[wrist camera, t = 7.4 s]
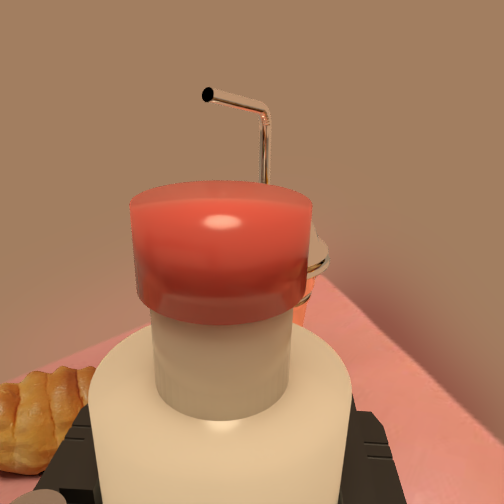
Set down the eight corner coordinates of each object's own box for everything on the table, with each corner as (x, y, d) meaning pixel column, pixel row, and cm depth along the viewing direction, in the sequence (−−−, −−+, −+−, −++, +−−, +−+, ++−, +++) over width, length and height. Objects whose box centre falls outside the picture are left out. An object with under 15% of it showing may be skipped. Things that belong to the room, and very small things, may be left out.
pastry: (144, 378, 32) (140, 334, 31) (167, 444, 27) (163, 393, 25) (0, 414, 29) (-12, 365, 27) (-10, 499, 23) (-25, 443, 22)
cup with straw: (344, 397, 30) (378, 88, 23) (227, 445, 26) (222, 88, 19) (278, 337, 37) (288, 85, 30) (176, 368, 33) (159, 84, 26)
